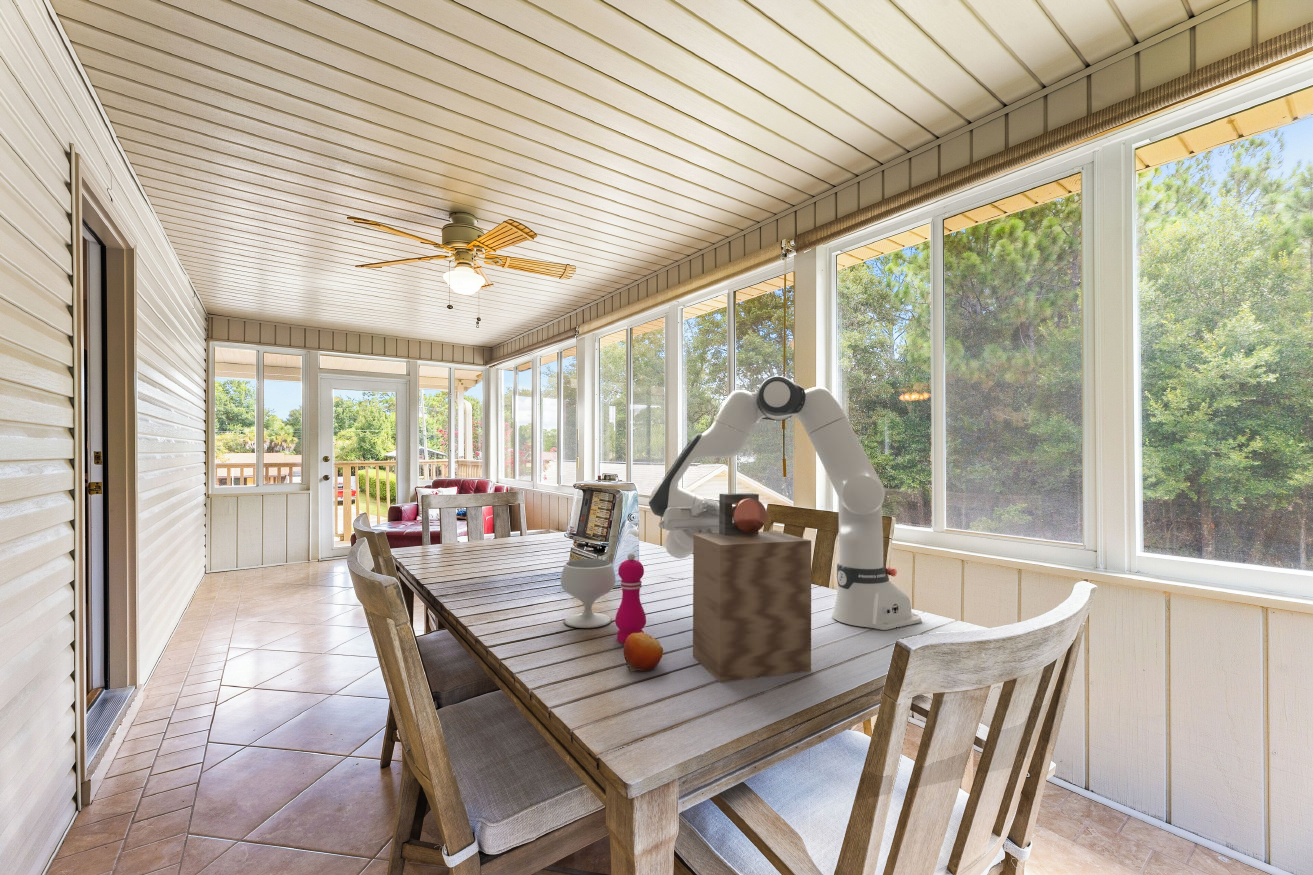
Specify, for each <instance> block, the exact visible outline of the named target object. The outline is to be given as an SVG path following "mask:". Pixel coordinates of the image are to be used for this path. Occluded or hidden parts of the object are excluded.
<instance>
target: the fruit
mask: <svg viewBox="0 0 1313 875" xmlns="http://www.w3.org/2000/svg"><path fill="white" fill-rule="evenodd" d="M622 652H623V658H624V661H625V664H626V665H625V666H629V669H630V672H629V674H630V675H631V674H632V673H633V672H634V671H645V672H648V671H653V670H655V669H656V668H657V666H658V665H659V663H660V661H661V660H662V658H663V653H664V647H663V646H662V645H661V643H660V641H659V640H658V639H657V638H654V637H653V636H652V635H650V634H648V633H645V632H644V633H643V632H640V633H632V634H630V635H629V636H628V637H627V639H626V641H625V643H624V645H623V649H622Z"/></svg>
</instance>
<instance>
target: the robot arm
mask: <svg viewBox="0 0 1313 875" xmlns="http://www.w3.org/2000/svg"><path fill="white" fill-rule="evenodd" d="M791 417H795V418H797V419H798V420H799V421H800V423H801V425H802V426H803V428H804V430H805V432H806V434H807V436H808V437H809V440H810V442H811V444H812V447H813V448H814V450H815V451H816V454H817V456H818V458H819V460H820V461H821V464H822V466H823V467H824V470H825V472H826V473H827V476H828V478H829V481H830V482H831V485H832V487H833V489H834V491H835V492H836V495H837V497H838V563H836V580H837V591H836V598H835V599H836V600H835V604H834V607H833V612H832V615H831V617H832V618H833V619H834V620H836V621H838V622H840V623H843V624H846V625H850V626H856V627H863V628H864V627H865V628H871V629H877V630H880V631H881V630H883V631H887V630H891V629H896V627H897V628H899V627H905V626H910V625H914V624H920V623H922V618H921V616H919V615H918V614H916V613H915V612H912V611H913V610H912V604H911V601H910V600H911V599H910V597H909V596H908V595H907V594H906V593H905V592H904V591H903V590H902V589H901V588H899V587H898V586H896V585H895V584H894V583H892V582H891V581H890V578H889V576H891V577H896V576H897V574H898V571H897V569H896V568H892V567H885V566H884V533H883V532H884V530H883V513H882V512H883V511H882V506H883V503H884V500H885V495H886V493H885V492H886V490H885V487H884V485H883V482H882V481H881V479H880V477H879V476H878V473H877V472H876V470H875V468H874V466H873V464H872V462H871V460H870V458H869V457H868V455H867V453H866V452H865V450H864V447H863V446H862V444H861V442H860V441H859V439H858V437H857V435H856V433H855V430H854V429H853V427H852V425H851V423H850V421H849V419H848V417H847V416H846V414H845V412H844V410H843V408H842V407H841V406H840V404H839V402H838V400H836V398H835V397H834V395H833V394H832V393H831V392H830V390H829V389H827V388H825V387H824V386H814V387H811V388H808V389H804V387H802V386H801V385H799V384H798V383H795V382H794V381H793V380H792V379H789V377H788V378H787V377H785V376H780V375H775V376H774V375H773V376H770V377H768V378H766V379H765V380H764V381H763V382H762V383H761V384H760V385H759V387H758V390H757V391H756V392H751V391H748V390H745V389H736V390H733V391H732V392H731V393H730V394H728V395H727V398H726V399H725V400H724V402H723V403H722V405H721V407H720V408H719V411H718V412H717V415H716V416H715V418H714V421H713V422H712V424H711V425H710V426H709V427H708V429H707V430H705V431H703V432H702V433H700V432H699V433H696V434H695V435H694V436H693V437H692V438H691V439H690V440H689V442H688V443H687V444H686V446H685V447H684V448H683V450H682V451H681V452H680V454H679V455H678V456H677V458H676V459H675V461H674V462H673V464H672V465H671V467H670V468H669V470H668V471H667V473H666V474H665V476H664V477H663V478H662V479H661V481H660V482H659V483H658V484H657V485H656V486H655V487H654V489H653V490H652V491H651V494H650V495H649V500H648V505H649V508H650V510H651V511H652V513H653V514H654V516H658V517H660V518H662V520H660V522H659V523H658V528H662V530H665V531H669V532H668V534H667V535H666V538H665V542H664V547H665V550H666V552H667V553H668V554H669V555H670V556H671V557H673V558H675V559H685V558H688V557H689V556H691V555H692V554H693V539H694V534H714V533H719V514H715V513H711V512H708V511H706V509H707V508H708V506H707V502H701V500H703V499H707V498H706V497H704V496H702V495H699V494H698V493H694V492H692V491H690V490H687V489H685V488H683V487H680V486H679V485H678V484H679V482H680V480H681V479H682V478H683V476H684V474H685V473H686V472H687V471H688V469H689V468H690V467H691V464H692V463H694V461H696V460H698V459H701V458H715V459H716V458H717V459H727V458H733V457H736V456H738V455H739V454H741V453H742V452H743V450H744V449H745V448H746V446H747V444H748V442H749V440H750V438H751V436H752V434H753V431H754V430H755V427H756V426H757V424H758V422H759V421H761V420H772V421H777V422H778V421H779V422H781V421H785V420H788V419H789V418H791ZM732 523H734V520H733V518H732Z"/></svg>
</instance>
